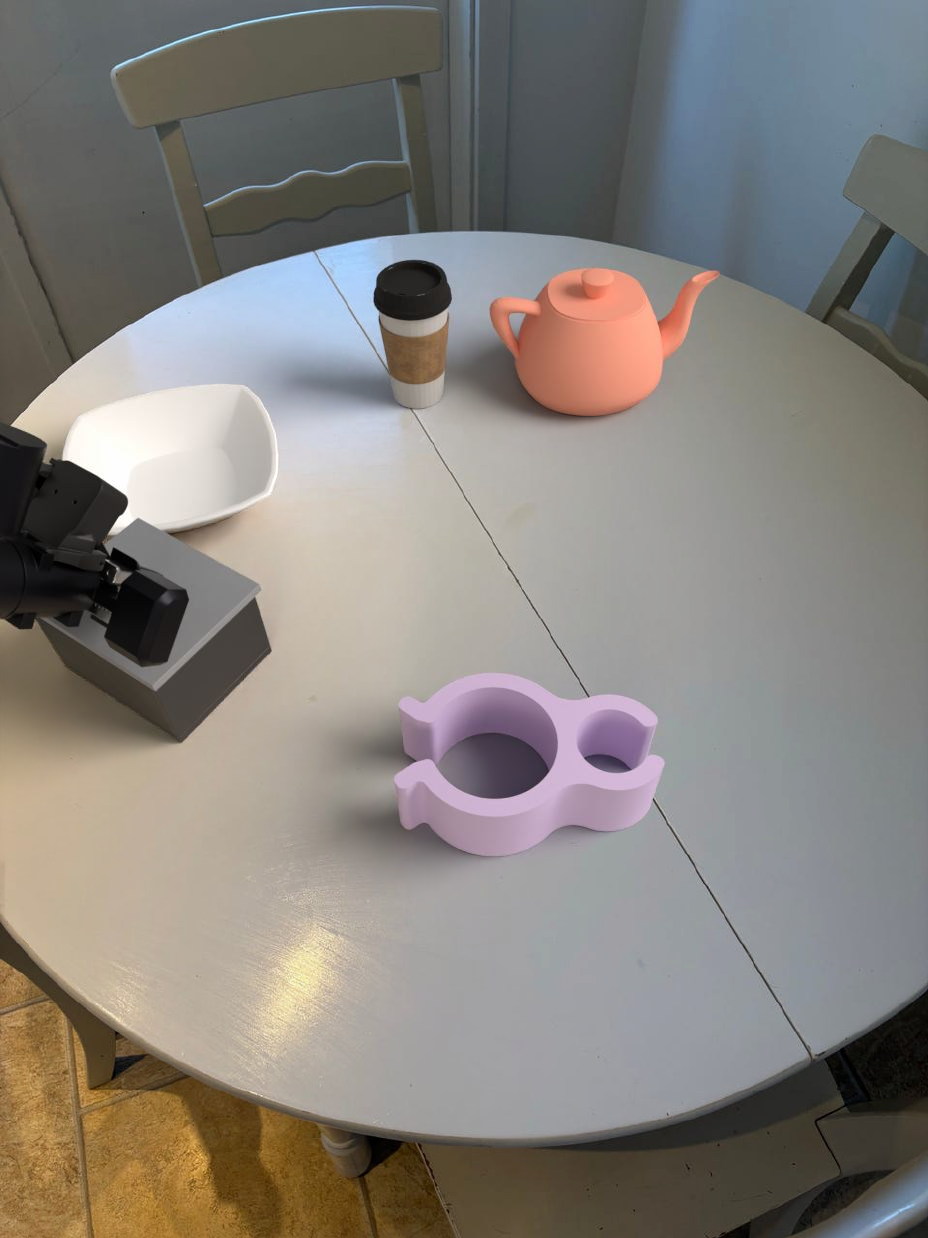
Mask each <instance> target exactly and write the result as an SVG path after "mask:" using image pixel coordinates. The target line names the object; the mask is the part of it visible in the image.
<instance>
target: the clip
mask: <svg viewBox="0 0 928 1238" xmlns="http://www.w3.org/2000/svg"><path fill="white" fill-rule="evenodd" d="M398 711H399V719H400V729H401V736H402V742H403V751H404V753H405V754H406V755H407V756H408V757H410V758H412V759H413V760H414V761H415V762H413V763H411V764H410V765H408V766H407V767H405V768H404V769H402V770H400V771H399V772H397V773H396V774H395V775H394V778H393V783H394V789H395V795H396V796H395V797H396V801H397V808H398V809H397V810H398V815H399V822H400V824H401V826H402V827H403V828H404V829H405V830H407V831H410V830H413V829H415V828H416V827H417V826H419V825H421V824H427V825H428V826H429V827H430V828H431V830H432V831H433V832H434V833H435V834H436V835H437V836H438V837H439V838H440V839H442V840H443V841H445V842H446V843H447V844H449V845H450V846H452V847H454V848H456V849H458V850H460V851H463V852H465V853H469V854H471V855H476V856H482V857H505V856H511V855H515V854H519V853H522V852H525V851H527V850H529V849H531V848H534V847H535V846H536V845H538V844H540V843H541V842H542V841H544V840H545V839H546V838H547V837H548V836H549V835H551V834H552V833H553V832H554V831H556V830H558V829H560V828H563V827H569V826H579V827H584V828H586V829H590V830H593V831H598V832H616V831H617V832H618V831H622V830H626V829H628V828H630V827H632V826H634V825H635V824H637V823H638V822H640V820H642V819H643V818H644V817H645V816H646V815H647V813H648V812H649V810H650V808H651V805H652V803H653V799H654V796H655V794H656V791H657V787H658V785H659V781H660V779H661V776H662V773H663V769H664V767H665V765H666V764H665V760H664V759H663V758H662V757H661V756H659V755H657V754H649V751H650V748H651V745H652V741H653V739H654V736H655V732H656V729H657V726H658V723H659V718H658V716H657V715H656V714H655V713H654V711H652V710H651V709H650V708H649V707H647V706H646V705H644V704H643V703H641V702H639V701H638V700H636V699H634V698H630V697H627V696H624V695H620V694H619V695H618V694H610V693H609V694H608V693H607V694H598V695H592V696H589V697H586V698H581V699H566V698H563V697H559V696H557V695H555V694H553V693H551V692H550V691H549V690H547V689H546V688H545V687H543V686H541V685H540V684H538V683H536V682H534V681H532V680H530V679H527V678H525V677H523V676H519V675H514V674H509V673H502V672H482V673H476V674H470V675H467V676H464V677H461V678H458V679H456V680H454V681H451V682H450V683H448V684H446V685H444V686H443V687H442V688H440V689H439V690H438V691H436V692H435V693H434V694H433V695H431V697H430V698H428V700H426V701H423V702H421V701H419V700H417V699H416V698H414V697H413V696H408V695H407V696H404V697H402V698H401V699H400V701H399V702H398ZM483 734H502V735H507V736H511V737H514V738H516V739H519V740H520V741H523V742H524V743H526V744H527V745H529V747H531V748H533V749H534V750H535V751H536V752H537V753H538V754H539V756H540V758H542V760H543V761H544V764H545V765H546V767H547V769H548V773H547V774H546V776H545V777H544V778H542V780H540V782H538V784H536V785H535V786H533V787H532V788H530V789H529V790H527V791H525V792H522V793H519V794H517V795H514V796H510V797H503V798H485V797H480V796H476V795H472V794H470V793H467V792H466V791H465V792H464V791H463V790H460V789H459V788H457V787H455V785H453V784H452V783H450V782H449V781H448V780H447V779H446V778H445V777H444V776H443V774H442V773H441V772H440V771H439V769H438V767H437V766H438V765H439V763H440V761H441V760H442V758H443V757H444V755H446V753H447V752H448V751H449V750H450V749H451V748H452V747H454V746H455V745H457V744H458V743H459V742H461V741H463V740H466V739H468V738H471V737H473V736H476V735H477V736H478V735H483ZM593 755H594V756H595V755H605V756H610V757H613V758H616V759H617V760H620V761H621V762H623V763H624V764H625V765H626V766H627V767H628V768H629V769H630V770H629V771H624V772H608V771H605V770H601V769H599V768H597V767H595V766H593V765H592V764H591V763H590V762H588V761H587V760H586V759H585V758H587V757H589V756H593Z"/></svg>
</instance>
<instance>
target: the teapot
mask: <svg viewBox="0 0 928 1238" xmlns="http://www.w3.org/2000/svg"><path fill="white" fill-rule="evenodd" d="M720 274H721V273H720V270H707V271H703V272H701V273H698V274H696V275H694V276H693V277H691V278H689V280H688V281H686V282H685V284H684V285H683V286H682V288H681V289H680V291H679V293H678V295H677V297H676V300H675V302H674V305H673V307H672V308H671V310H670V311H669V312H668V314H666V315H665V316H664V317H663V318H661V319H660V320H657V316H656V314H655V311H654V309H653V307H652V305H651V302H650V300H649V297H648V296H647V294H646V292H645V290H644V288H643V286H642V284H641V283H640V282H639V281H638V280H637V279H636V278H634V277H633V276H632V275H630V274H628V273H626V272H622V271H619V270H615V269H609V268H602V267H590V268H578V269H572V270H568V271H564V272H562V273H559V274H557V275H555V276H553V277H552V278H551V279H549V280H548V282H546V284H545V285H544V286H543V287H542V289H541V290H540V291H539V293H538V294H537V296H536V297H535V298H534V300H533V299H532V300H531V299H527V298H521V297H514V296H501V297H498V298H496V299H494V300H493V301H492V302H491V303H490V305H489V317H490V321H491V325H492V327H493V329H494V330H495V332H496V333H497V335H498V336H499V338H500V339H501V341H502V342H503V344H504V345H505V346H506V348H507V349H508V350H509V351H510V352H511V354H512V355H513V357H514V366H515V371H516V373H517V376H518V378H519V381H520V382H521V384H522V386H523V387H524V389H525V390H526V391H527V392H528V394H529V395H530V396H531V397H532V398H533V399H534V400H535V401H536V402H537V403H539V404H540V405H541V406H543V407H545V408H546V409H549V410H552V411H553V412H557V413H561V414H565V415H572V416H578V417H579V416H580V417H581V416H582V417H597V416H606V415H612V414H616V413H620V412H622V411H625V410H628V409H631V408H633V407H634V406H635V405H637V404H639V403H640V402H642V401H643V400H645V399H646V398H647V397H648V396H650V395H651V394H652V393H653V392H654V390H655V389H656V388H657V386H658V385H659V383H660V381H661V378H662V372H663V365H664V364H663V363H664V361H665V360H666V359H668V358H669V357H670V356H672V355H673V354H674V353H675V352H676V351H677V350H678V349H679V348H680V347H681V346H682V344H683V342H684V341H685V338H686V336H687V334H688V331H689V328H690V323H691V319H692V316H693V315H692V314H693V310H694V308H695V304H696V301H697V299H698V297H699V295H700V294H701V292H702V291H703V290H704V289H705V287H706V286H708V285H709V284H710V283H712V282H713V281H714V280H715V279H716V278H718V277H719V276H720ZM512 314H523V315H524V317H523V319H522V321H521V324H520V328H519V331H518V334H517V338H516V335H515V334H514V332H513V331H514V330H513V329H512V326H511V322H510V316H511V315H512Z"/></svg>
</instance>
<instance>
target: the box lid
mask: <svg viewBox="0 0 928 1238" xmlns="http://www.w3.org/2000/svg"><path fill="white" fill-rule="evenodd" d="M104 546H105V548H106V550H107V551H108V553H109V555H111V552H112V549H113V547H115V548H116V549H118V550H120V551H122V552H123V553H125V554H127V555H129V556H130V557H132V558H134V559H135V560H137V562H138V563H139V565H140V566H142V567H145V568H148V569H151V570H154V571H156V572H158V573H160V574H162V575H163V577H165V578H167V579H169V580H170V581H172V582H174V583H176V584H177V585H179V586H181V587H183V588H184V589H186V591H187V594H188V597H189V602H188V605H187V608H186V611H185V613H184V616H183V619H182V622H181V625H180V628H179V631H178V633H177V636H176V639H175V642H174V645H173V648H172V651H171V653H170V656H169V659H168V662H166V663H164V664H162V665H158V666H149V667H140V666H139V665H137V664H136V663H134V662H132V661H131V660H129V659H128V658H126V657H124V656H123V655H121V654H120V653H118V652H116V651H115V650H113V649H112V648H110V647H109V645H108V643H107V642H106V640H105V638H104V635H105V632H106V629H107V628H105V627H104V626H102V625H101V624H99V623H97V622H96V621H94V620H93V619H91V618H90V616H91V613H90V612H88V611H86V610H85V611H84V612H83V615H82V618H81V621H80V624H79V627H67V626H65V625H63V624H62V623H60V622H59V621H57V620H55V619H54V618H52V617H46V618H41V619H42V620H44V621H46V622H47V623H49V624H50V625H52V626H53V627H55V628H57V629H58V630H60V631H61V632H63V633H64V634H66V635H67V636H69V637H71V638H72V639H74V640H75V641H77V642H78V643H80V644H82V645H83V646H85V647H86V648H88V649H89V650H91V651H92V652H94V653H96V654H97V655H99V656H100V657H102V658H103V659H105V660H107V661H108V662H110V663H111V664H113V665H114V666H116V667H117V668H119V669H121V670H122V671H124V672H125V673H127V674H128V675H130V676H132V677H133V678H135V679H136V680H138V681H139V682H141V683H142V684H144V685H146V686H147V687H149V688H150V689H152V690H153V691H156V690H157V689H159V688H160V687H161V686H162V685H163V684H164V683H165V682H166V681H167V680H168V679H169V678H170V677H171V676H172V675H173V674H174V673H175V672H176V671H177V670H178V669H180V668H181V667H182V666H183V665H184V664H185V663H186V662H187V661H188V660H189V659H190V658H191V657H192V656H193V655H194V654H195V653H196V652H197V651H198V650H199V649H200V648H202V647H203V646H204V645H205V644H206V643H207V642H208V641H209V640H210V639H211V638H212V637H213V636H214V635H215V634H216V633H217V632H218V631H219V630H220V629H221V628H223V627H224V626H225V625H226V624H227V623H228V622H229V621H230V620H231V619H232V618H233V617H234V616H235V615H236V614H237V613H238V612H239V611H240V610H241V609H242V608H243V607H245V606H246V605H247V604H248V603H249V602H250V601H251V600H252V599H253V598H254V597H256V596H257V595H258V594H260V592H261V591H262V587H261V584H260V583H258V582H257V581H254V580H252V579H251V578H249V577H248V576H246V575H243V574H241V573H240V572H237V571H236V570H234V568H233V569H232V568H231V567H229V566H228V565H226V564H224V563H222V562H220V561H219V560H216V559H214V558H213V557H211V556H208V555H207V554H205V553H204V552H202V551H200V550H198V549H197V548H194V547H193V546H191V545H189V544H187V543H185V542H184V541H181V540H180V539H178V538H176V537H174V536H172V535H171V534H170V533H165V532H163V531H162V530H160V529H158V528H156V527H154V526H152V525H151V524H149V523H147V522H145V521H143V520H142V519H140V518H137V519H136V520H134V521H133V522H132V523H131V524H129V525H128V526H127V527H126V528H125V529H123V530H122V531H121V532H120V533H118V534H117V535H116V536H112V538H111V539H109V540H108V541H107V542H106V543H104Z"/></svg>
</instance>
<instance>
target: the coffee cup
mask: <svg viewBox="0 0 928 1238" xmlns="http://www.w3.org/2000/svg"><path fill="white" fill-rule="evenodd" d="M372 298H373V299H372V300H373V301H372V302H373V305H374V307H375V309H376V310H377V311H378V319H377V320H378V325H379V330H380V335H381V340H382V345H383V351H384V354H385V359H386V365H387V369H388V373H389V378H390V384H391V389H392V395H393V398H394V400H395V402H397V403H398V404H399V405H401V406H402V407H405V408H409V409H415V410H416V409H417V410H418V409H419V410H420V409H421V410H422V409H426V408H430V407H433V406H435V405H436V404H438V403H439V402H440V400H442V398H443V396H444V391H445V371H446V363H447V352H448V351H447V349H448V339H449V337H448V336H449V328H450V327H449V325H450V313H449V308H450V307H449V306H450V305H451V304H452V301H453V295H452V289H451V286H450V284H449V282H448V278H447V273H446V272H445V271H444V269H443V268H442V267H441V266H439V265H438V264H436V263H434V262H431V261H428V260H424V259H423V260H422V259H406V260H405V259H404V260H399V261H397V262H394V263H392V264H389V265H388V266H385V267H384V268H383V269H382V270H381V271H380V272H379V273H378V274H377V276H376V280H375V288H374V290H373V297H372Z"/></svg>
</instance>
